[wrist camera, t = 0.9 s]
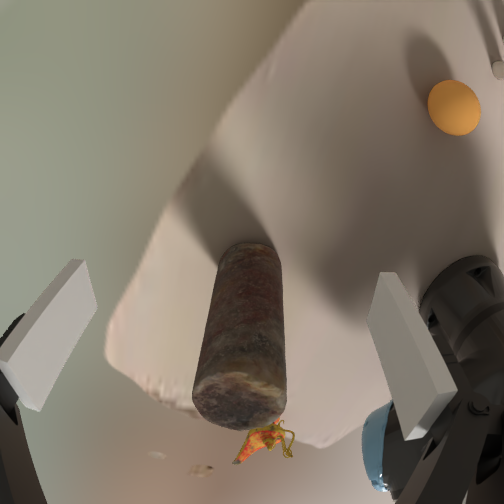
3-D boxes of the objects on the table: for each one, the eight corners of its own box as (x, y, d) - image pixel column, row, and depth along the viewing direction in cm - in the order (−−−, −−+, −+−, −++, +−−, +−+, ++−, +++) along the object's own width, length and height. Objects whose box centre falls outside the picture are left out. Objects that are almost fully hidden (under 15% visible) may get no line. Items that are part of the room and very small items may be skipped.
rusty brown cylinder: (216, 286, 41) (192, 426, 23) (218, 234, 37) (188, 374, 20) (276, 292, 41) (285, 433, 24) (285, 241, 37) (304, 383, 20)
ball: (468, 104, 28) (499, 112, 23) (442, 140, 31) (470, 153, 25) (436, 68, 26) (466, 69, 21) (408, 105, 29) (435, 111, 24)
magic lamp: (221, 433, 60) (217, 478, 50) (277, 396, 52) (279, 451, 43) (248, 442, 62) (246, 486, 52) (305, 408, 54) (310, 459, 45)
